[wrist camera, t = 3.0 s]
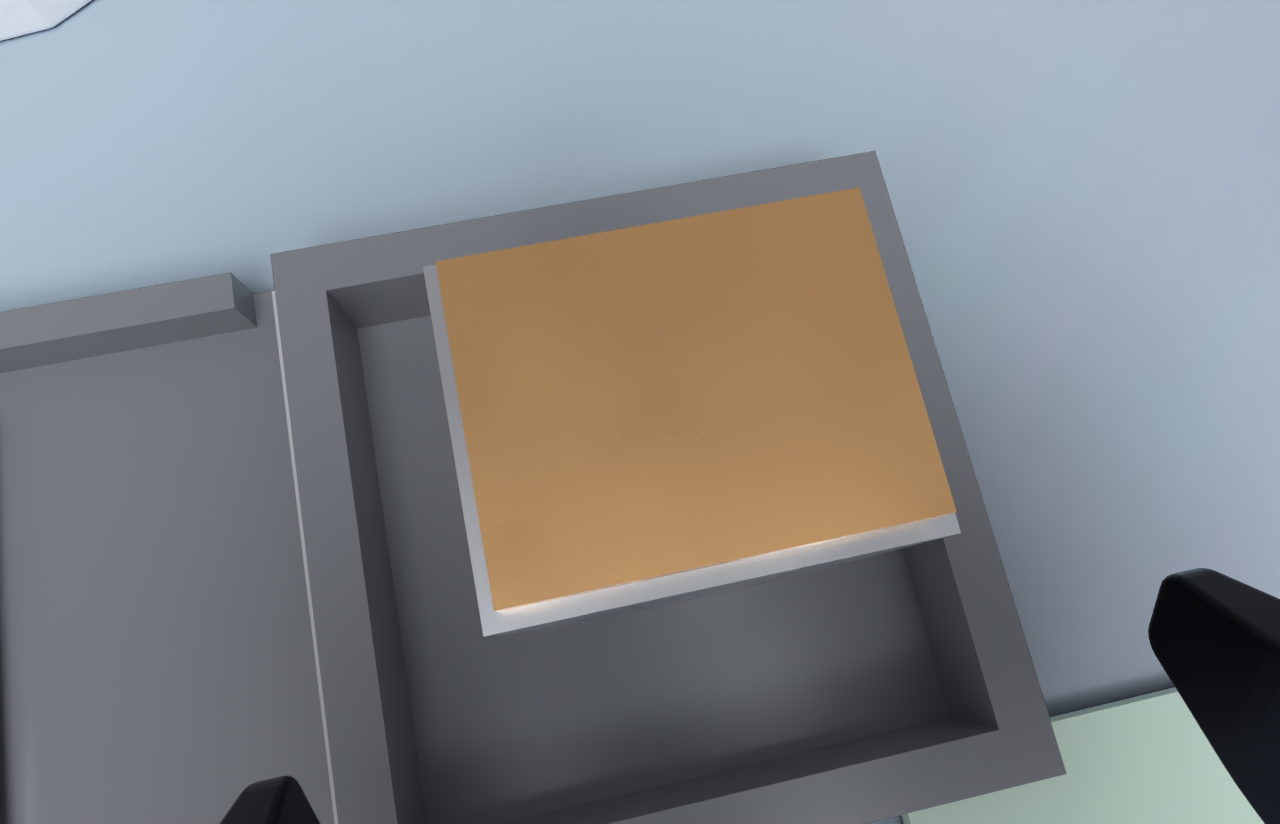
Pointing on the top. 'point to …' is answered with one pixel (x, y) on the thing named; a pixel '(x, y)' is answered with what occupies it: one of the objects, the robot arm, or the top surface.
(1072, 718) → the mat
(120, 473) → the grey compartment tray
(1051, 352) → the top surface
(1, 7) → the white cup
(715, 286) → the block
